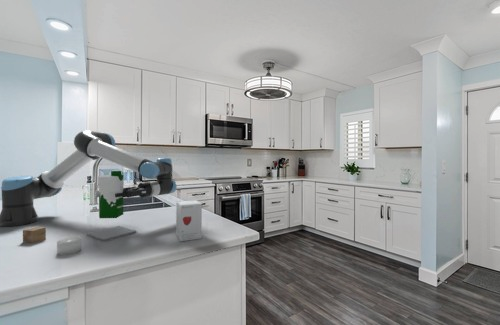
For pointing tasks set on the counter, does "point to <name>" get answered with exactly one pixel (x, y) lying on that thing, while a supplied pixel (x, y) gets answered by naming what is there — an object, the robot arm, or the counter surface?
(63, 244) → the white cylinder puck
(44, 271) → the counter surface
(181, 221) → the supplement box
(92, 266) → the counter surface
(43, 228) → the walnut block
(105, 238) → the slate board
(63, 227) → the counter surface
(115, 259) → the counter surface
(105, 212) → the soya milk
